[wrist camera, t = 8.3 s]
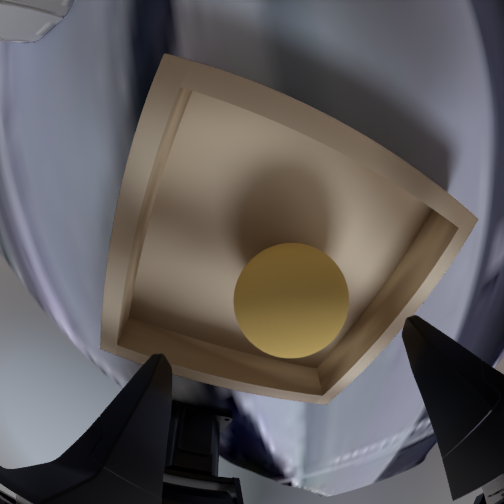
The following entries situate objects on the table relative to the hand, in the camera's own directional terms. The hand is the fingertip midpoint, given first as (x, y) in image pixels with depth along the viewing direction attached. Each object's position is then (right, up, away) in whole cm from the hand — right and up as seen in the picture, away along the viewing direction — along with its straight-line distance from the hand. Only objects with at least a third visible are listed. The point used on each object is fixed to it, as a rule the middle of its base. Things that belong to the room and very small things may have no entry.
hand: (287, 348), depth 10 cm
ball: (0, +1, +3) cm, 3 cm away
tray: (0, +3, +5) cm, 6 cm away
